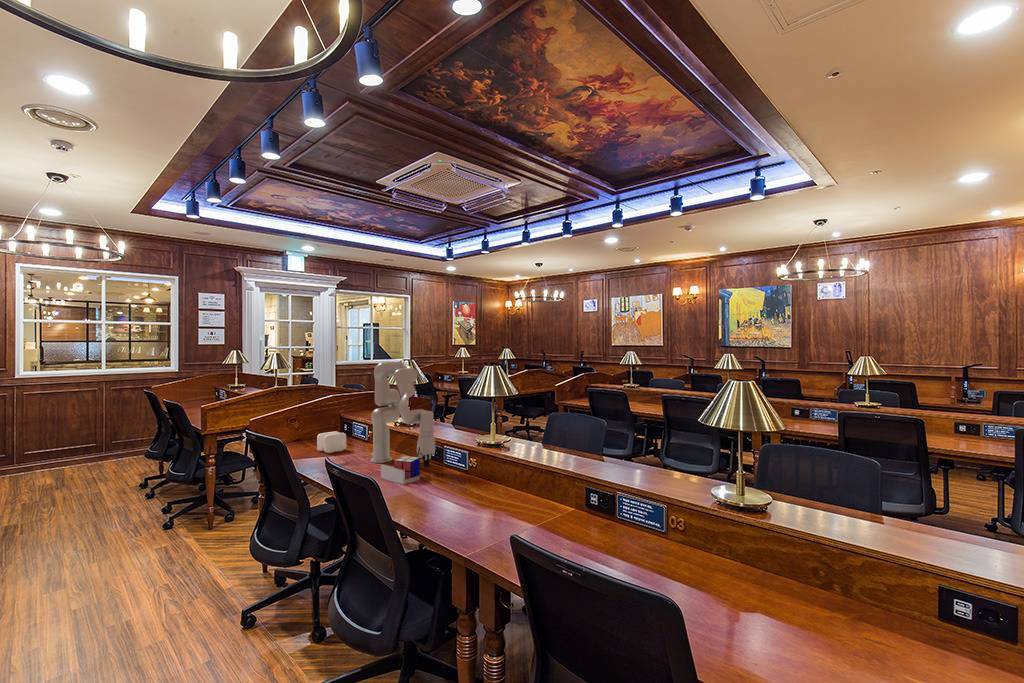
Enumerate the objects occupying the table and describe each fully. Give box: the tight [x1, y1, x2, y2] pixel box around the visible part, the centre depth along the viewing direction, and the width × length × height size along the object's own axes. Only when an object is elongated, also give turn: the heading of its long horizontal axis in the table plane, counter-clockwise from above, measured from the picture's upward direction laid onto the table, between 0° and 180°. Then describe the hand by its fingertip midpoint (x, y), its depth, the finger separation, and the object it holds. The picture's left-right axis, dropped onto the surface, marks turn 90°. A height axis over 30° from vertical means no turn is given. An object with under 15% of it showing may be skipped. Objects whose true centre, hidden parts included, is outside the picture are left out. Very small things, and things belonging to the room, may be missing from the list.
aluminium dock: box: [380, 463, 421, 486], centre depth 244 cm, size 18×11×7 cm, turn 51°
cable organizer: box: [316, 430, 347, 454], centre depth 303 cm, size 15×11×12 cm
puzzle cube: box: [393, 455, 421, 479], centre depth 246 cm, size 10×10×10 cm
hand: (426, 466), depth 258 cm, fingers closed
